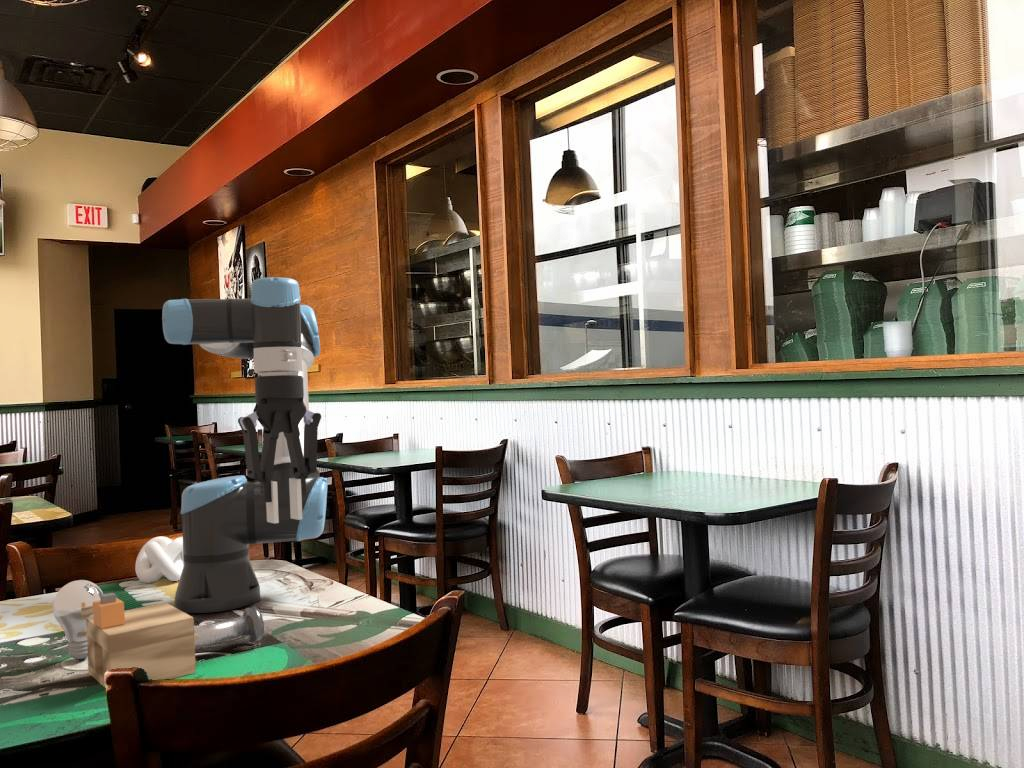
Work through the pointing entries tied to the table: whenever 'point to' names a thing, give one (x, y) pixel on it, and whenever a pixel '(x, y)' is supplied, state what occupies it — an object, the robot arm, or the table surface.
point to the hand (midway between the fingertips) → (284, 520)
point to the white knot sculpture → (160, 559)
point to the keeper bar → (108, 611)
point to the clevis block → (144, 643)
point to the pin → (231, 629)
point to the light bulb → (76, 614)
